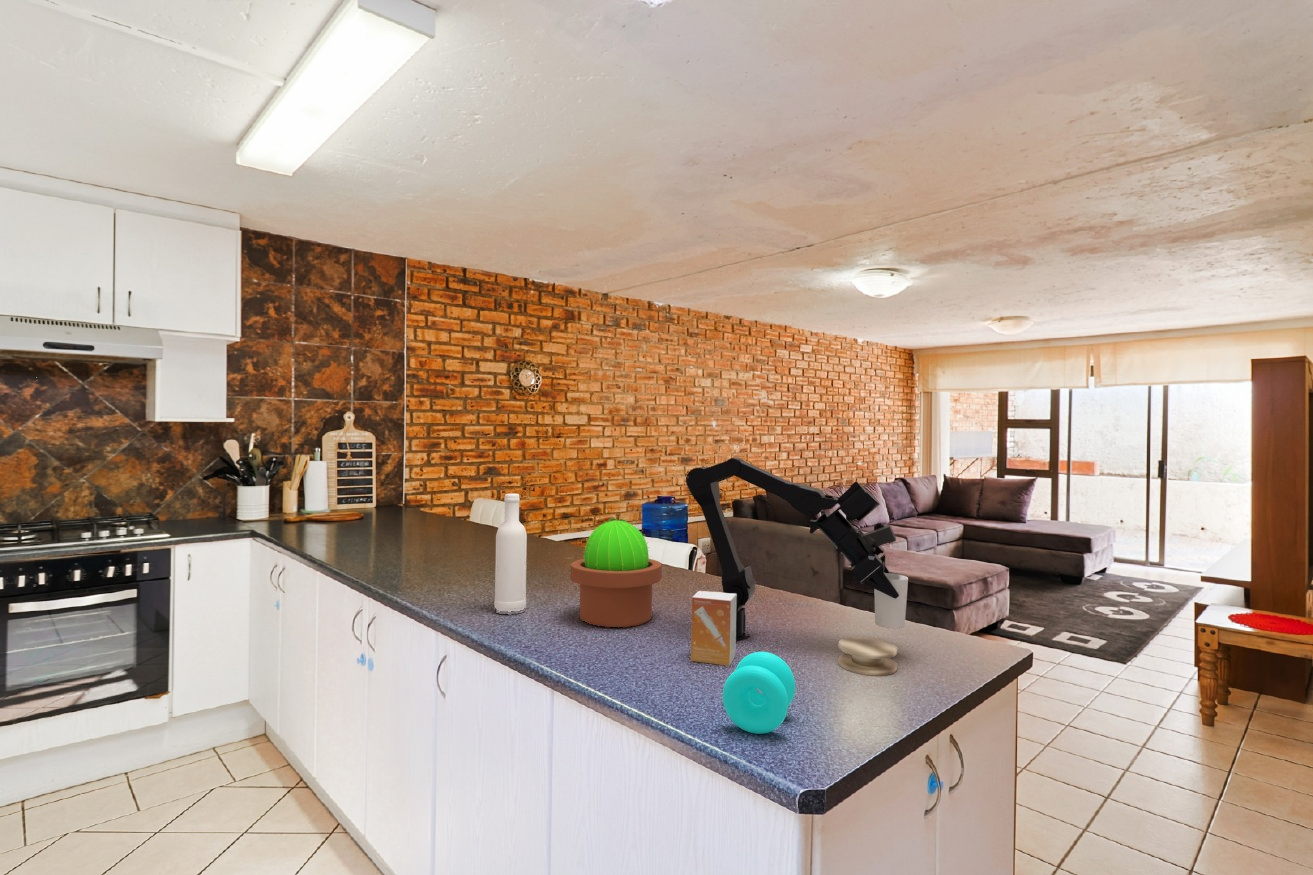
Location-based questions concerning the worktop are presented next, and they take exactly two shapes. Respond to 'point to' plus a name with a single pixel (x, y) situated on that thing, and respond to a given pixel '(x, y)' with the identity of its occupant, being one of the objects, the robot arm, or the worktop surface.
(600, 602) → the potted cactus
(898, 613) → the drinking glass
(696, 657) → the small box
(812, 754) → the worktop surface
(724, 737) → the worktop surface
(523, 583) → the bottle
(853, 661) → the birch stand
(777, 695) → the turquoise yoyo
